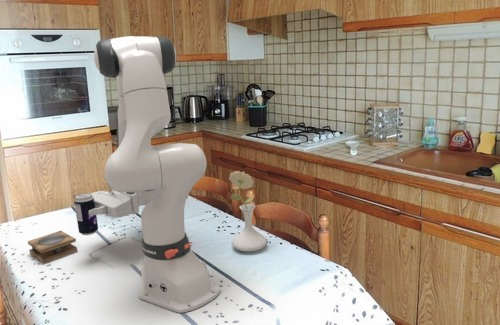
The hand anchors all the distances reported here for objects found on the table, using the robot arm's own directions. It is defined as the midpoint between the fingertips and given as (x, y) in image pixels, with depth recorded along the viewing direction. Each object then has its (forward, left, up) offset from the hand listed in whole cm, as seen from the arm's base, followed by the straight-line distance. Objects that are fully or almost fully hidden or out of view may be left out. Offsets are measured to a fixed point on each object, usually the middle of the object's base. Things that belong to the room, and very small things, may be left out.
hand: (82, 210), depth 137 cm
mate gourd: (+32, -27, -17) cm, 45 cm away
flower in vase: (-32, -38, -17) cm, 52 cm away
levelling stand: (+15, +5, -17) cm, 23 cm away
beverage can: (0, -1, -8) cm, 8 cm away
